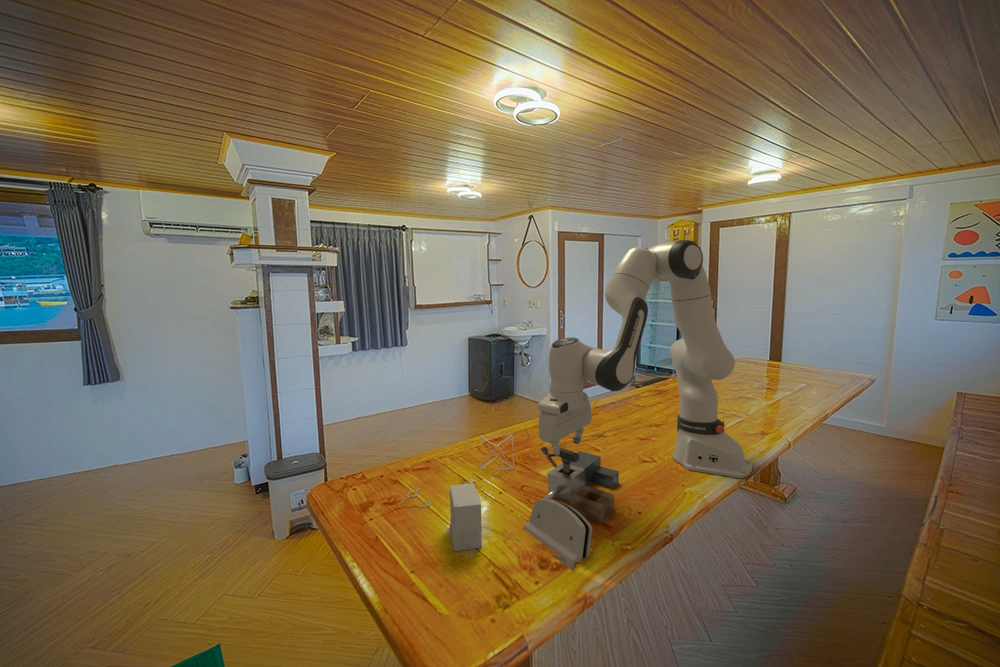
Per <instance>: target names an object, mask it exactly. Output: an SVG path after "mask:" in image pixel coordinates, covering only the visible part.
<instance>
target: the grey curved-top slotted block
mask: <svg viewBox="0 0 1000 667" xmlns="http://www.w3.org/2000/svg"><path fill="white" fill-rule="evenodd" d="M531 510H532V511H531V513H530V517H529V519H528V521H527V522H526V523H525V524H524V526H523V530H524V531H526V532H527V533H528V534H530V535H531V536H533V537H534V538H535V539H537V540H538V541H539V542H541V543H542V544H544V545H545V546H546V547H547V548H549V549H551V550H552V551H553V552H555V553H556V554H557V555H558V556H557V555H554V554H553V553H550V555H551V556H552V557H554V558H555V559H556V560H557V561H559V562H560V563H561V564H563V565H564V566H565V565H566V567H567V568H568V569H569V570H571V571H572V570H574V569H575V564H576V563H577V564H578V563H581V562H582V561H583V560H584V559H585V558H586V559H587V558H588V557H589V556H590V553H591V545H592V537H593V536H592V535H593V527H592V525H591V524H590V522H589V520H586V519H585V518H584V517H583V516H582V515H581V514H580V513H579V512H578V511H577V510H575V509H574V508H572V507H571V506H570V504H567V503H564V502H563V501H560V500H557V499H554V498H553V499H543V498H539V499H536V500H535V502H534V505H533V508H532V509H531ZM559 556H560V557H559ZM561 557H562V558H561Z"/></svg>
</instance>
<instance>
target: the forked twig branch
mask: <svg viewBox="0 0 1000 667" xmlns="http://www.w3.org/2000/svg"><path fill="white" fill-rule="evenodd" d="M541 450H542V453H544V455H545V457H546V458H547V459H548V460H549V462H550V463H551V464H552V466H553V467H554V469H555V468H556V467H557V466H558V465H557V463H556V462H555V461H554V459H553V458H552V457H556V455H554V453H549V451H548V450H549V449H548V448H547V447H545V446H542V447H541V448H540V451H541Z"/></svg>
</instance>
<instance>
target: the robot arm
mask: <svg viewBox="0 0 1000 667" xmlns="http://www.w3.org/2000/svg"><path fill="white" fill-rule="evenodd" d="M703 263H704V255H703V250H702V249H701V247H700V245H698V243H696V242H695V241H694V240H689V239H680V240H677V241H670V242H669V241H667V242H663V243H659V244H657V245H654V246H650V247H641V246H640V247H639V246H635V247H632V248H630V249H629V250H627V251H626V252H625V253H624V255H623V256H622V258H621V259H620V260H619V261H618V262H617V265H616V266H615V269H614V270H613V272H612V274H611V275H610V279H609V280H608V282H607V284H606V286H605V287H606V288H605V292H604V297H605V300H606V302H607V303H606V304H608V305H609V307H610V308H611V309H612V310H613V311H615V312H616V313H617V314H619V315H620V316H621V319H622V323H621V325H620V330H619V332H618V335H617V339H616V342H615V345H614V346H613V347H612V348H611V349H608V350H606V349H602V348H599V347H598V348H597V347H593V346H591V345H587V344H585V343H583V342H582V341H580V339H579V338H577V337H563V338H559V339H556V340H555V341H553V343H552V344H551V345H550V349H549V354H548V355H549V356H548V372H549V377H550V384H549V392H548V393H547V394H546V395H545V397H544V398H543V399H542V400H540V402H538V405H537V409H538V411H540V414H539V416H538V435H539V438H540V440H541V441H542V442H544V443H547V444H550V445H551V447H552V452H553V453H552V454H555V456H556V455H560V454H561V453H562V448H563V447H561V446H560V440H561V439H564V438H565V437H567V436H569V435H571V434H572V433H574V436H573V437H572V440H573V441H572V442H573V444H577V445H578V444H580V443H582V436H583V433H584V428H585V427H586V426H588V425H590V424H591V422H592V419H593V417H592V416H593V414H592V407H591V402H590V400H589V396H588V394H587V393H586V392H585V391H584V386H583V384H584V383H587V382H588V383H589V384H593V385H596V386H599V387H601V388H603V389H606V390H609V391H611V392H619V391H622V390H623V389H625V388H627V386H629V384H630V383H631V382H632V380H633V379H634V375H635V367H636V361H637V360H636V359H637V356H638V352H639V349H640V348H639V347H640V345H641V341H642V338H643V334H644V330H645V327H646V324H647V321H648V320H647V319H648V315H649V314H648V313H649V306H648V304H647V302H646V298H647V294H648V292H649V290H650V288H651V285H652V283H653V282H669V285H670V296H671V303H672V309H673V316H674V317H673V318H674V323H675V327H677V329H678V330H679V333H680V334H681V336H682V338H680V339H677V340H675V341H674V342H673V343H672V345H671V346H670V349H669V356H670V359H671V362H672V363H673V366H674V370H675V376H676V380H677V386H678V392H679V393H678V394H679V398H678V399H679V400H678V410H679V411H678V415H677V418H676V431H677V435H676V436H677V437H676V443H675V448H674V450H673V453H672V458H673V459H674V460H675V461H676V463H679V464H681V465H682V466H683V467H684V468H685V470H690V471H693V472H694V471H695V472H702V473H706V474H712V475H719V476H724V475H725V476H726V477H730V478H736V479H743V478H746V477H748V476H750V475H751V473H752V471H753V463H752V462H751V461H750V459H748V458H745V455H744V450H743V447H742V445H741V444H740V443H739V442H738V441H736V440H735V439H734V438H732V437H731V436H730V435H729V434H727V432H726V431H725V420H723V421H721V420H720V419H719V418H718V409H719V408H718V407H719V406H718V404H719V395H718V392H717V389H715V386H714V384H713V380H715V381H720V380H723V379H726V378H728V377H729V376H730V375H731V374H732V373H733V371H734V368H735V366H736V365H735V364H736V363H735V357H734V355H733V354H732V352H731V351H730V350H729V349H728V347H727V346H726V344H725V343H724V340H723V337H722V335H721V332H720V330H719V328H718V325H717V322H716V319H715V313H714V307H713V300H712V292H711V288H710V283H709V279H708V276H707V273H706V269H705V267H704V266H703Z"/></svg>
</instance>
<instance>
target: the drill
mask: <svg viewBox="0 0 1000 667" xmlns="http://www.w3.org/2000/svg"><path fill="white" fill-rule="evenodd" d="M576 453H578V454H579V461H577V462H571V463H570V475H567V474H563V462H561V463H560V464H559V465H557V467H556V468H555V467H554V468H553V469H551V471H548V473H547V485H548V486H547V490H548V491H547V494H545V495H544V497H543V498H542V499H553V500H554V498H555V497H556V498H558V499H561V500H565V501H567V502H570V498H571V497H572V496H574V495H575V494H576V493H577V492H578V491H579V490H580V489H582V488H583V487H584V486H588V487H591V485H592V484H596V485H599V486H603V487H606V488H610V489H615V487H616V486H617V485H618V484H619V482H620V480H619V479H620V476H619V475H620V474H619V472H620V471H619V470H615V469H611V468H608V467H604V466H601V462H602V461H601V460H602V458H601V457H602V456H601V455H600V456H599V455H597V454H592V453H589V452H584V451H581V450H579V451H577V452H576Z"/></svg>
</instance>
